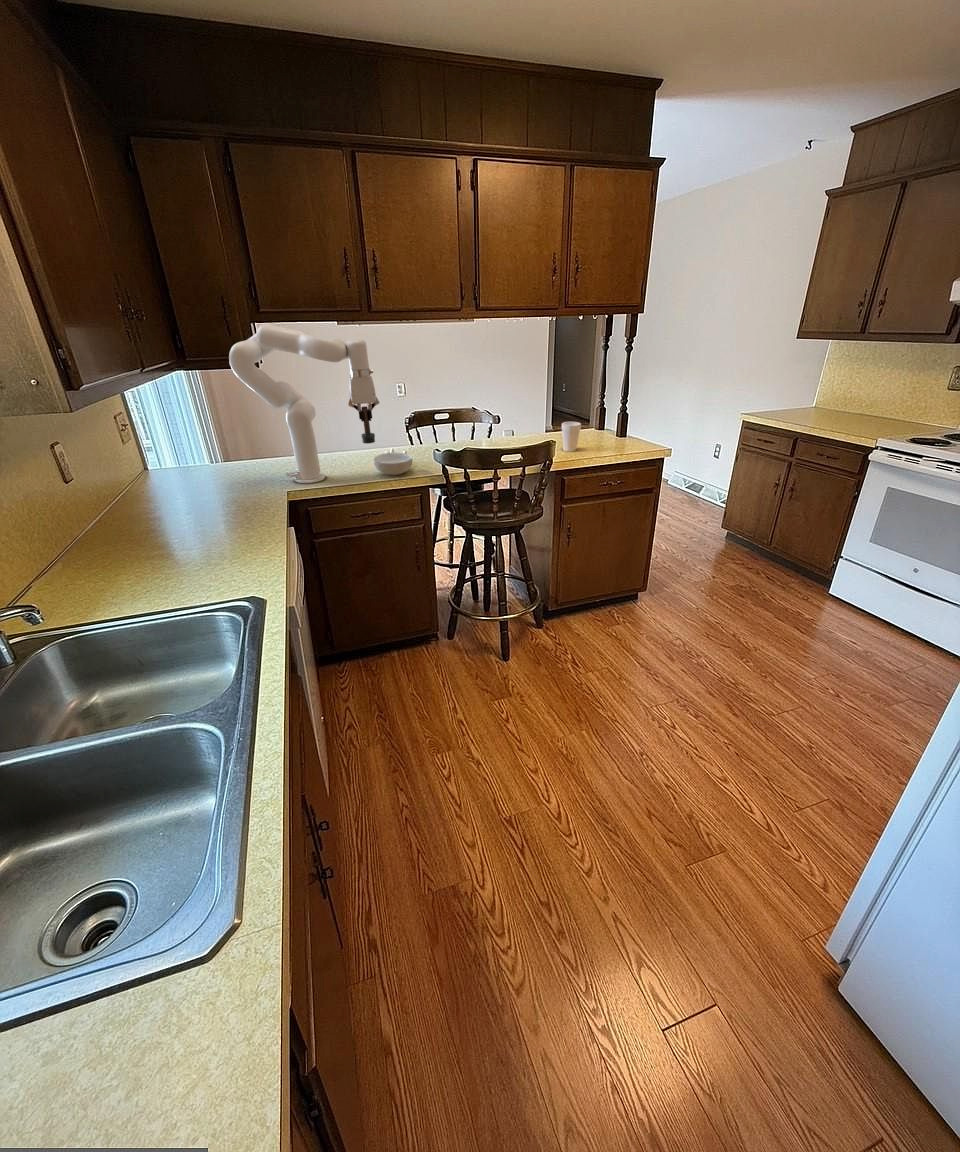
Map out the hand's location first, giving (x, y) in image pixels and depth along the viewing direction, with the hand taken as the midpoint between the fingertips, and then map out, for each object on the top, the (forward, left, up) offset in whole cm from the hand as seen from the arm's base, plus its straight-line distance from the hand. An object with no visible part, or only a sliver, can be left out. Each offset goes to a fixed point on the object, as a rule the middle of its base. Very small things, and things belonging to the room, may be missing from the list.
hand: (366, 420), depth 215 cm
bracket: (+14, +18, -24) cm, 34 cm away
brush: (0, 0, -9) cm, 9 cm away
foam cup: (+101, +7, -24) cm, 104 cm away
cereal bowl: (+10, +2, -24) cm, 27 cm away
